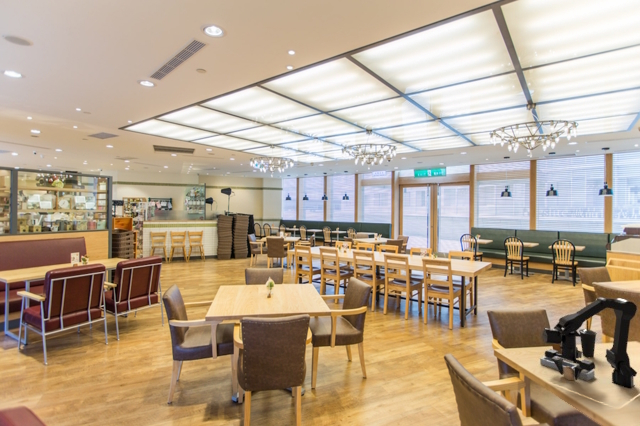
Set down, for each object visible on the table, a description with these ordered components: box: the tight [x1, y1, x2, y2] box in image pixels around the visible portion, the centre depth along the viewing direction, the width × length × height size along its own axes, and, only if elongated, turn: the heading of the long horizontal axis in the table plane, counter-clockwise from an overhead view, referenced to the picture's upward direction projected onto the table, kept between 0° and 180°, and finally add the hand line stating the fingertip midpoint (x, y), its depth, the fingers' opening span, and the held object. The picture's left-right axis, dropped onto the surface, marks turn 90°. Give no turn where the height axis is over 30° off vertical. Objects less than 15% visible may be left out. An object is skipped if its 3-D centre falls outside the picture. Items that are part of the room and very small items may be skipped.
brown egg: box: [563, 366, 575, 381], centre depth 155 cm, size 4×4×6 cm
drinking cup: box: [578, 319, 597, 359], centre depth 183 cm, size 8×8×20 cm
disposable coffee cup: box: [551, 343, 561, 354], centre depth 185 cm, size 10×10×12 cm
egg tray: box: [539, 356, 596, 381], centre depth 164 cm, size 21×7×4 cm, turn 30°
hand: (569, 377), depth 155 cm, fingers open, 6 cm apart
